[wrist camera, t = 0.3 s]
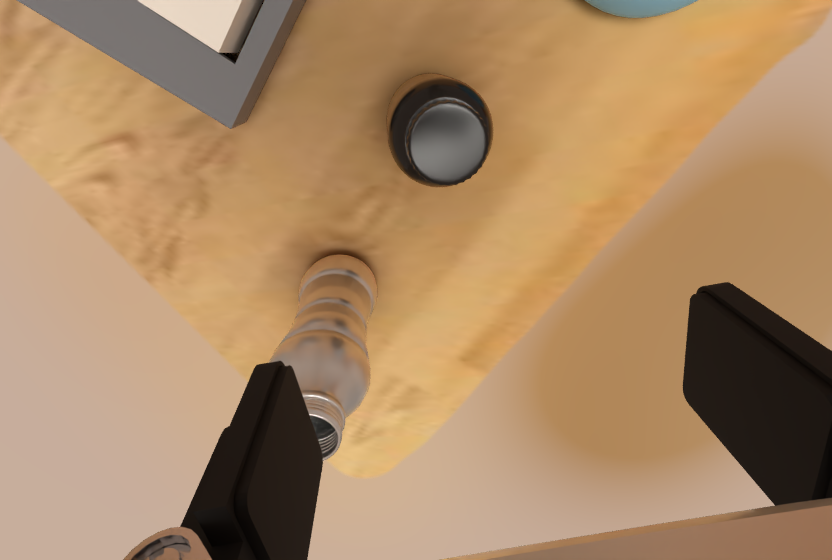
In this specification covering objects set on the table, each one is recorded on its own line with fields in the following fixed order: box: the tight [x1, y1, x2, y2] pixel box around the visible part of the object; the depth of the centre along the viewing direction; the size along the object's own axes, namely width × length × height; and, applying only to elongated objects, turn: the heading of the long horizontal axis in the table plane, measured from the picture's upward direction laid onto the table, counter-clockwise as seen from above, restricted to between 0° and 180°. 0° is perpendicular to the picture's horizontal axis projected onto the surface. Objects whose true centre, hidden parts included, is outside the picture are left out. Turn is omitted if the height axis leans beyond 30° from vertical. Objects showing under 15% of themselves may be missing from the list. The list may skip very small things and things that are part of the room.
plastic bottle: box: [269, 255, 378, 461], centre depth 35 cm, size 6×7×20 cm
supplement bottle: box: [387, 73, 493, 187], centre depth 33 cm, size 7×7×12 cm
